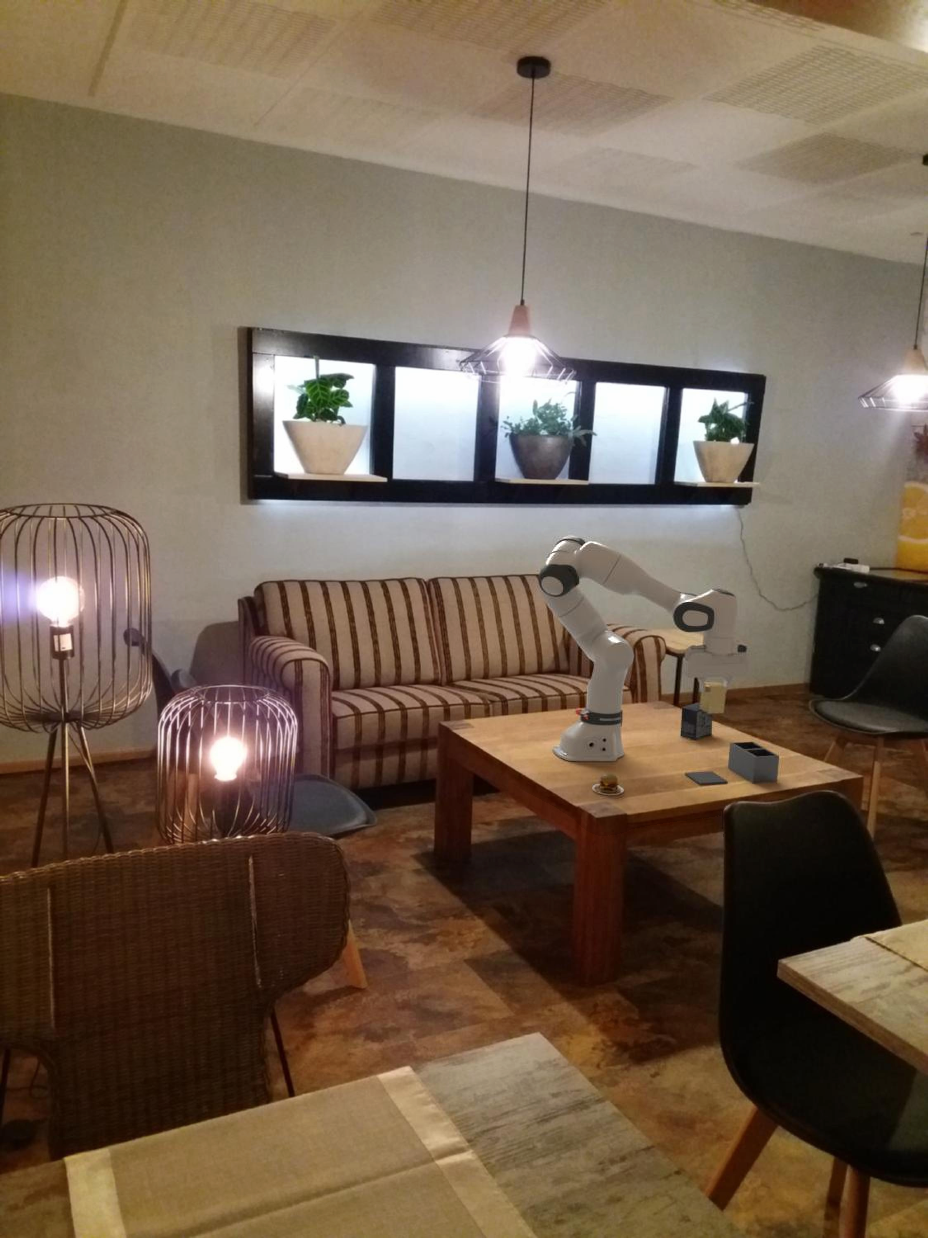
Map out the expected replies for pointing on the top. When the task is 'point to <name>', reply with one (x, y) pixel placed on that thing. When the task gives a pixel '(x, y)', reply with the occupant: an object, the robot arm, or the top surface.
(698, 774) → the mat
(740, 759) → the divided storage bin
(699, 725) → the small box
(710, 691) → the cream tapered block
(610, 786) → the hamburger
